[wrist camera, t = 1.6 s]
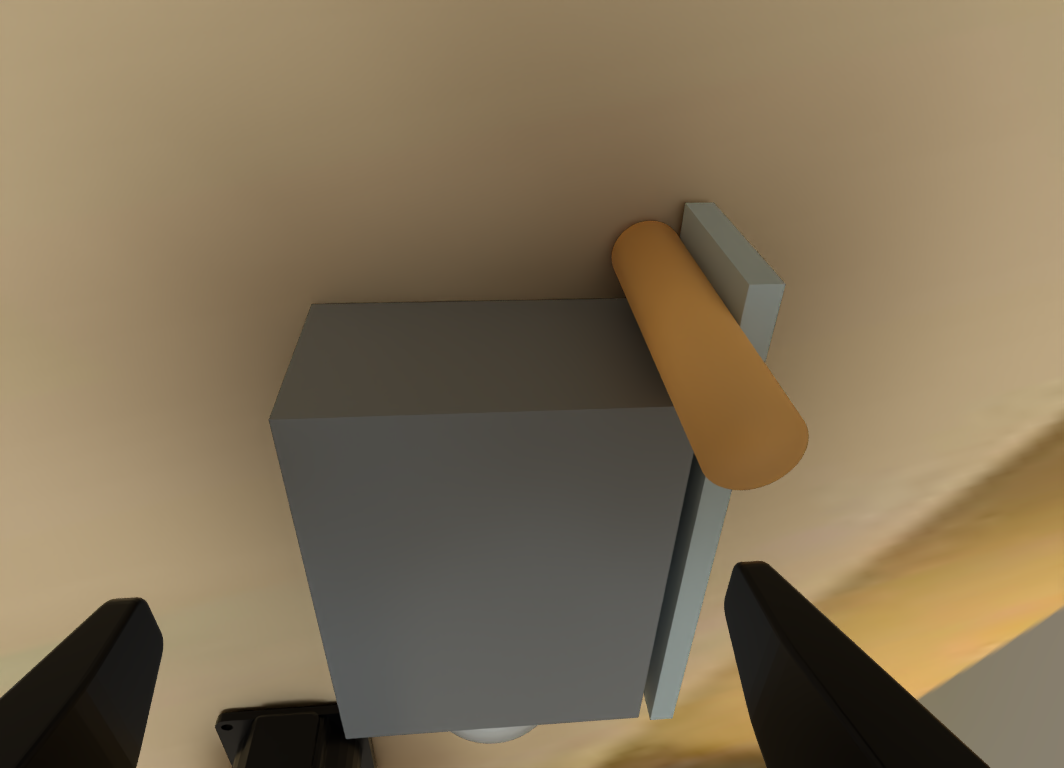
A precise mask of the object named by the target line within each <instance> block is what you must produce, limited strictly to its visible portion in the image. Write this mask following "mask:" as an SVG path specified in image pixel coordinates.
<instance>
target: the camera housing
mask: <svg viewBox="0 0 1064 768" xmlns="http://www.w3.org/2000/svg"><path fill="white" fill-rule="evenodd" d="M269 423H270V427H271V431H272V435H273V439H274V444H275V448H276V452H277V456H278V460H279V464H280V468H281V473H282V477H283V481H284V485H285V489H286V493H287V497H288V501H289V506H290V510H291V514H292V518H293V522H294V526H295V530H296V535H297V539H298V543H299V547H300V551H301V555H302V559H303V564H304V568H305V572H306V576H307V580H308V584H309V588H310V592H311V597H312V601H313V605H314V609H315V613H316V617H317V621H318V626H319V630H320V634H321V638H322V642H323V646H324V650H325V655H326V659H327V663H328V667H329V671H330V675H331V679H332V683H333V688H334V692H335V696H336V700H337V704H338V708H339V712H340V717H341V721H342V725H343V729H344V733H345V737H346V739H352V738H366V737H380V736H393V735H407V734H420V733H434V732H448V731H451V732H452V733H454V734H456V735H457V736H459V737H461V738H464V739H466V740H469V741H473V742H478V743H501V742H506V741H510V740H513V739H516V738H518V737H521V736H523V735H524V734H526V733H528V732H529V731H531V730H532V729H533V728H535V727H536V726H537V725H543V724H556V723H570V722H583V721H597V720H611V719H624V718H638V717H639V712H640V707H641V702H642V697H643V693H644V688H645V683H646V678H647V673H648V669H649V664H650V659H651V654H652V649H653V645H654V640H655V635H656V630H657V626H658V621H659V616H660V611H661V606H662V602H663V597H664V592H665V587H666V582H667V578H668V573H669V568H670V563H671V559H672V554H673V549H674V544H675V539H676V535H677V530H678V525H679V520H680V515H681V511H682V506H683V501H684V496H685V491H686V487H687V482H688V477H689V472H690V468H691V463H692V458H693V453H694V451H693V449H692V447H691V444H690V442H689V440H688V438H687V435H686V433H685V431H684V428H683V426H682V424H681V422H680V419H679V417H678V415H677V412H676V410H675V408H674V406H673V403H672V401H671V399H670V396H669V394H668V392H667V390H666V387H665V385H664V383H663V380H662V378H661V376H660V374H659V371H658V369H657V367H656V364H655V362H654V360H653V358H652V355H651V353H650V351H649V348H648V346H647V344H646V342H645V339H644V337H643V335H642V332H641V330H640V328H639V326H638V323H637V321H636V319H635V316H634V314H633V312H632V310H631V307H630V305H629V303H628V300H627V298H622V299H567V300H513V301H458V302H404V303H349V304H312V305H311V307H310V310H309V313H308V315H307V318H306V321H305V324H304V326H303V329H302V332H301V334H300V337H299V340H298V342H297V345H296V348H295V350H294V353H293V356H292V359H291V361H290V364H289V367H288V369H287V372H286V375H285V377H284V380H283V383H282V385H281V388H280V391H279V394H278V396H277V399H276V402H275V404H274V407H273V410H272V412H271V415H270V418H269Z"/></svg>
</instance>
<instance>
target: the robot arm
mask: <svg viewBox="0 0 1064 768" xmlns="http://www.w3.org/2000/svg"><path fill="white" fill-rule="evenodd" d="M724 610H725V617H726V621H727V625H728V629H729V633H730V638H731V642H732V646H733V650H734V654H735V659H736V663H737V667H738V671H739V675H740V680H741V684H742V688H743V692H744V696H745V700H746V705H747V708H748V712H749V716H750V720H751V723H752V726H753V729H754V732H755V735H756V739H757V741H758V744H759V747H760V750H761V753H762V755H763V758H764V761H765V764H766V767H767V768H990V767H989V766H988V765H987V764H986V763H985V762H984V761H983V760H982V759H980V758H979V757H978V756H977V755H976V754H975V753H974V752H973V751H972V750H971V749H970V748H969V747H967V746H966V745H965V744H964V743H963V742H962V741H961V740H960V739H959V738H958V737H957V736H955V735H954V734H953V733H952V732H951V731H950V730H949V729H948V728H947V727H946V726H945V725H944V724H942V723H941V722H940V721H939V720H938V719H937V718H936V717H935V716H933V714H931V713H930V712H929V711H928V710H927V709H926V708H925V707H924V706H923V705H922V704H920V703H919V702H918V701H917V700H916V699H915V698H914V697H913V696H912V695H911V694H910V693H909V692H908V691H906V690H905V689H904V688H903V687H902V686H901V685H900V684H899V683H898V682H897V681H896V680H894V679H893V678H892V677H891V676H890V675H889V674H888V673H887V672H886V671H885V670H884V669H882V668H881V667H880V666H879V665H878V664H877V663H876V662H875V661H874V660H873V659H872V658H870V657H869V656H868V655H867V654H866V653H865V652H864V651H863V650H862V649H861V648H860V647H858V646H857V645H856V644H855V643H854V642H853V641H852V640H851V639H850V638H849V637H848V636H846V635H845V634H844V633H843V632H842V631H841V630H840V629H839V628H838V627H837V626H836V625H834V624H833V623H832V622H831V621H830V620H829V619H828V618H827V617H826V616H825V615H824V614H822V613H821V612H820V611H819V610H818V609H817V608H816V607H815V606H814V605H813V604H812V603H811V602H809V601H808V600H807V599H806V598H805V597H804V596H803V595H802V594H801V593H800V592H799V591H797V590H796V589H795V588H794V587H793V586H792V585H791V584H790V583H789V582H788V581H787V580H785V579H784V578H783V577H782V576H781V575H780V574H779V573H778V572H777V571H776V570H775V569H773V568H772V567H771V566H770V565H769V564H767V563H765V562H763V561H751V562H739V563H737V564H736V565H735V566H734V568H733V571H732V574H731V578H730V582H729V585H728V589H727V592H726V596H725V601H724ZM162 652H163V637H162V633H161V631H160V629H159V627H158V625H157V622H156V620H155V618H154V616H153V614H152V612H151V610H150V608H149V605H148V603H147V602H146V601H145V600H144V599H142V598H139V597H135V598H118V599H112V600H109V601H107V602H106V603H104V604H103V605H102V606H100V607H99V608H98V609H97V610H96V611H95V612H94V613H93V614H92V615H91V616H90V617H88V618H87V619H86V620H85V621H84V622H83V623H82V624H81V625H80V626H79V627H78V628H76V629H75V630H74V631H73V632H72V633H71V634H70V635H69V636H68V637H67V638H65V639H64V640H63V641H62V642H61V643H60V644H59V645H58V646H57V647H56V648H55V649H53V650H52V651H51V652H50V653H49V654H48V655H47V656H46V657H45V658H44V659H43V660H41V661H40V662H39V663H38V664H37V665H36V666H35V667H34V668H33V669H32V670H31V671H29V672H28V673H27V674H26V675H25V676H24V677H23V678H22V679H21V680H20V681H18V682H17V683H16V684H15V685H14V686H13V687H12V688H11V689H10V690H9V691H8V692H6V693H5V694H4V695H3V696H2V697H1V698H0V768H136V766H137V762H138V758H139V754H140V750H141V746H142V741H143V737H144V733H145V728H146V724H147V719H148V715H149V710H150V706H151V702H152V697H153V693H154V688H155V684H156V679H157V675H158V671H159V666H160V662H161V657H162ZM215 728H216V731H217V733H218V735H219V738H220V740H221V742H222V744H223V747H224V749H225V751H226V754H227V756H228V758H229V760H230V763H231V765H232V768H377V766H376V761H375V757H374V752H373V747H372V742H371V737H366V738H352V739H346V737H345V733H344V729H343V725H342V721H341V717H340V712H339V708H338V705H330V706H316V707H301V708H287V709H272V710H258V711H244V712H229V713H223V714H221V715H219V716H218V718H217V722H216V725H215Z"/></svg>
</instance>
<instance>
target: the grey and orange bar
mask: <svg viewBox="0 0 1064 768" xmlns="http://www.w3.org/2000/svg"><path fill="white" fill-rule="evenodd" d="M612 265H613V268H614V271H615V273H616V275H617V277H618V280H619V282H620V284H621V287H622V289H623V291H624V294H625V296H626V298H627V300H628V303H629V305H630V307H631V310H632V312H633V314H634V316H635V319H636V321H637V323H638V326H639V328H640V330H641V332H642V335H643V337H644V339H645V342H646V344H647V346H648V348H649V351H650V353H651V355H652V358H653V360H654V362H655V364H656V367H657V369H658V371H659V374H660V376H661V378H662V380H663V383H664V385H665V387H666V390H667V392H668V394H669V396H670V399H671V401H672V403H673V406H674V408H675V410H676V412H677V415H678V417H679V419H680V422H681V424H682V426H683V428H684V431H685V433H686V435H687V438H688V440H689V442H690V444H691V447H692V449H693V451H694V453H693V458H692V463H691V468H690V472H689V477H688V482H687V487H686V491H685V496H684V501H683V506H682V511H681V515H680V520H679V525H678V530H677V535H676V539H675V544H674V549H673V554H672V559H671V563H670V568H669V573H668V578H667V582H666V587H665V592H664V597H663V602H662V606H661V611H660V616H659V621H658V626H657V630H656V635H655V640H654V645H653V649H652V654H651V659H650V664H649V669H648V673H647V678H646V683H645V688H644V696H645V700H646V704H647V708H648V712H649V717H650V720H656V719H669V718H673V714H674V710H675V706H676V702H677V699H678V695H679V691H680V687H681V683H682V679H683V676H684V672H685V668H686V664H687V660H688V656H689V653H690V649H691V645H692V641H693V637H694V633H695V630H696V626H697V622H698V618H699V614H700V610H701V607H702V603H703V599H704V595H705V591H706V587H707V584H708V580H709V576H710V572H711V568H712V564H713V561H714V557H715V553H716V549H717V545H718V541H719V537H720V534H721V530H722V526H723V522H724V518H725V514H726V511H727V507H728V503H729V499H730V495H731V491H732V490H749V489H755V488H759V487H762V486H765V485H768V484H770V483H772V482H774V481H776V480H778V479H780V478H781V477H783V476H784V475H786V474H787V473H788V472H790V471H791V470H792V469H793V468H794V467H795V466H796V465H797V464H798V462H799V461H800V460H801V458H802V456H803V455H804V453H805V450H806V448H807V444H808V437H809V435H808V429H807V426H806V424H805V422H804V420H803V419H802V417H801V416H800V414H799V413H798V411H797V410H796V408H795V407H794V406H793V404H792V403H791V401H790V400H789V398H788V397H787V395H786V394H785V392H784V391H783V389H782V388H781V386H780V385H779V383H778V382H777V381H776V379H775V378H774V376H773V375H772V373H771V372H770V370H769V369H768V367H767V366H766V364H765V361H766V357H767V353H768V350H769V346H770V342H771V338H772V334H773V330H774V327H775V323H776V319H777V315H778V311H779V307H780V304H781V300H782V296H783V292H784V288H785V283H784V282H783V281H782V280H781V278H780V277H779V276H778V275H777V274H776V273H775V272H774V270H773V269H772V268H771V267H770V266H769V265H768V264H767V263H766V261H765V260H764V259H763V258H762V257H761V256H760V255H759V253H758V252H757V251H756V250H755V249H754V248H753V247H752V245H751V244H750V243H749V242H748V241H747V240H746V239H745V238H744V236H743V235H742V234H741V233H740V232H739V231H738V230H737V228H736V227H735V226H734V225H733V224H732V223H731V222H730V220H729V219H728V218H727V217H726V216H725V215H724V214H723V213H722V211H721V210H720V209H719V208H718V207H717V206H716V205H715V203H685V208H684V214H683V221H682V227H681V233H680V238H679V236H678V235H677V234H676V232H675V231H674V230H673V229H672V228H671V227H670V226H668V225H667V224H665V223H662V222H658V221H643V222H639V223H637V224H634V225H632V226H631V227H629V228H628V229H626V230H625V231H624V232H623V233H622V234H621V235H620V236H619V237H618V239H617V241H616V242H615V244H614V247H613V250H612Z"/></svg>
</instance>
